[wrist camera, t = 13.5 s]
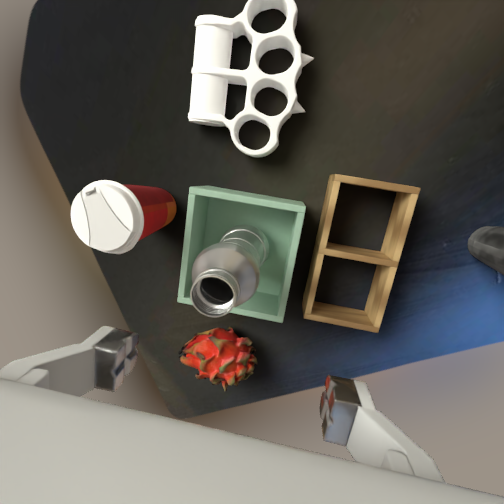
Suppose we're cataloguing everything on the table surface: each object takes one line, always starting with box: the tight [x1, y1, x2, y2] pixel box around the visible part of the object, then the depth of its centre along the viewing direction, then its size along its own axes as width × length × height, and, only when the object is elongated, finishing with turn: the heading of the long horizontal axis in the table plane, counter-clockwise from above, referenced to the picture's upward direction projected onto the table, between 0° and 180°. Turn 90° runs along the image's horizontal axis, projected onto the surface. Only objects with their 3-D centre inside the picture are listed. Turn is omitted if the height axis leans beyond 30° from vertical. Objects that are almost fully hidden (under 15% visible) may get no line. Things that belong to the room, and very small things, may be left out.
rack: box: [302, 174, 420, 333], centre depth 40 cm, size 19×10×5 cm, turn 171°
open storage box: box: [177, 186, 306, 323], centre depth 40 cm, size 15×14×8 cm
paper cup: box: [71, 180, 176, 254], centre depth 37 cm, size 8×8×14 cm
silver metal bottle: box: [190, 224, 269, 317], centre depth 33 cm, size 6×7×20 cm
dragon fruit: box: [179, 327, 257, 391], centre depth 45 cm, size 8×8×12 cm
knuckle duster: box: [188, 0, 314, 157], centre depth 37 cm, size 3×18×15 cm
